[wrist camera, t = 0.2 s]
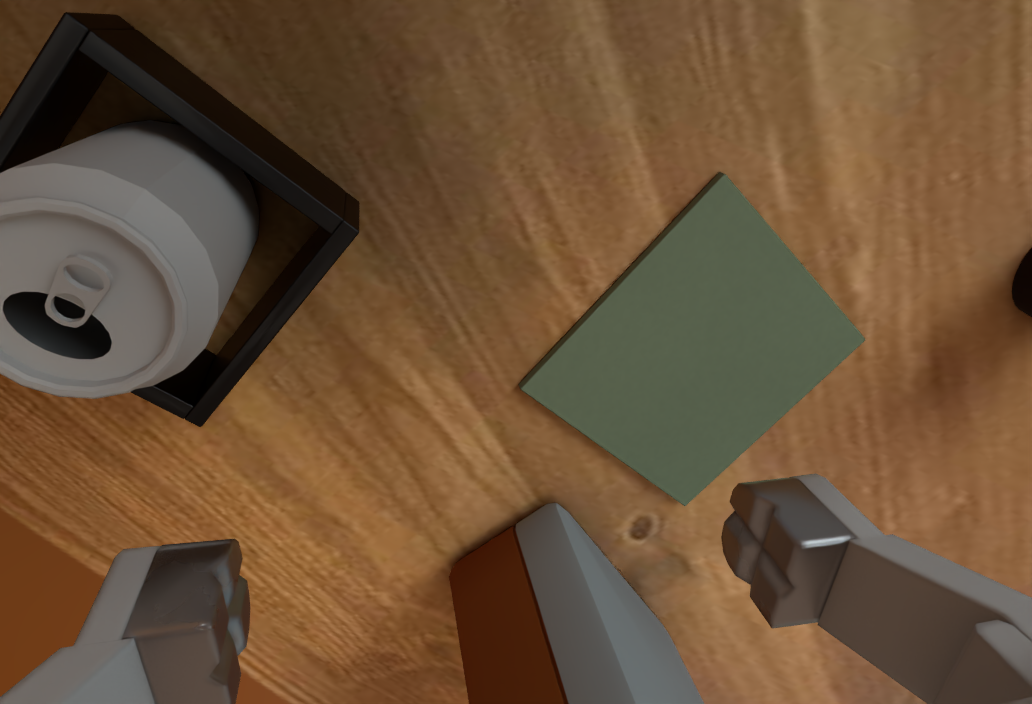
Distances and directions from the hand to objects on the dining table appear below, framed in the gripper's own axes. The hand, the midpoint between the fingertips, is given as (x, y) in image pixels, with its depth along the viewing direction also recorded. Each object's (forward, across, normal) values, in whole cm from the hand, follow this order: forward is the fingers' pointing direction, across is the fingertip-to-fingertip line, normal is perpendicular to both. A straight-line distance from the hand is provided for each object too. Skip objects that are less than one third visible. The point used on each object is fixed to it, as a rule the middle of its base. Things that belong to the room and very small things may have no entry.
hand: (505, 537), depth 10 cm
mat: (+23, -17, +10) cm, 30 cm away
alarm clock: (+23, -10, +29) cm, 39 cm away
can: (+23, +10, 0) cm, 26 cm away
